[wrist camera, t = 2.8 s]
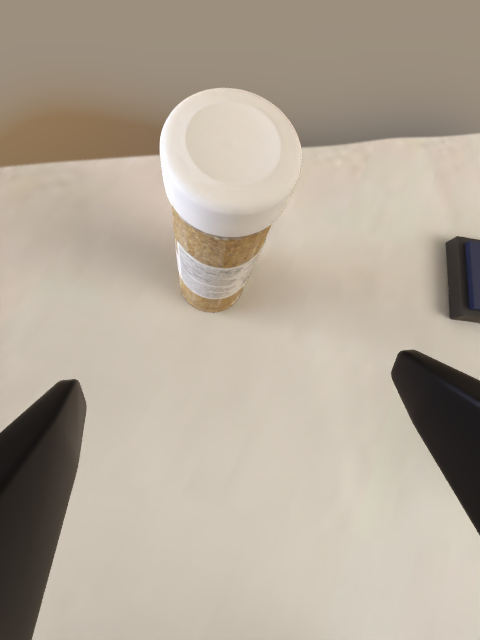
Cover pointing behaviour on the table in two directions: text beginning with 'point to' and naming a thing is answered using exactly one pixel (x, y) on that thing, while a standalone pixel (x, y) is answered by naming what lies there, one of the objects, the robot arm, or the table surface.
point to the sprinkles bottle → (225, 187)
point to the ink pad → (464, 278)
